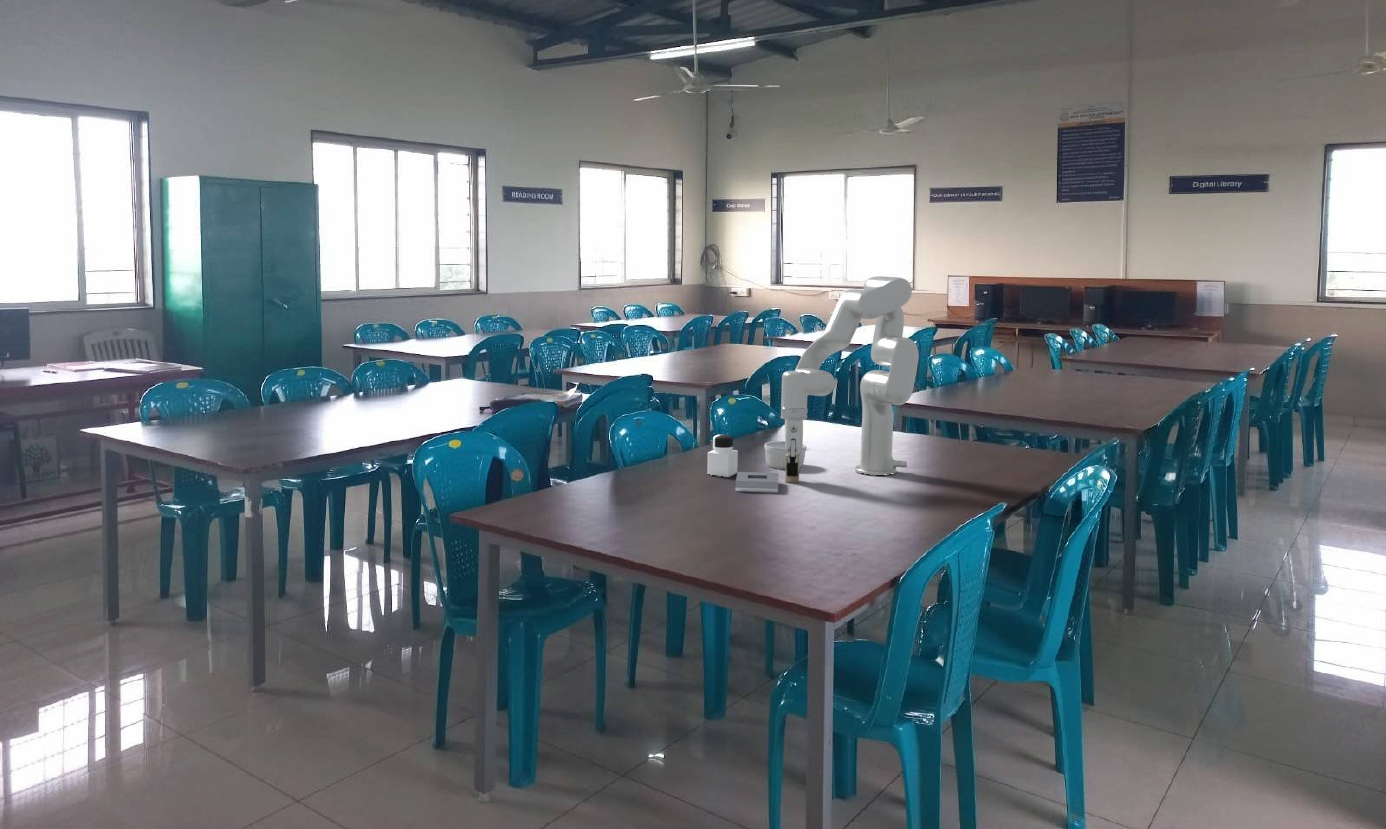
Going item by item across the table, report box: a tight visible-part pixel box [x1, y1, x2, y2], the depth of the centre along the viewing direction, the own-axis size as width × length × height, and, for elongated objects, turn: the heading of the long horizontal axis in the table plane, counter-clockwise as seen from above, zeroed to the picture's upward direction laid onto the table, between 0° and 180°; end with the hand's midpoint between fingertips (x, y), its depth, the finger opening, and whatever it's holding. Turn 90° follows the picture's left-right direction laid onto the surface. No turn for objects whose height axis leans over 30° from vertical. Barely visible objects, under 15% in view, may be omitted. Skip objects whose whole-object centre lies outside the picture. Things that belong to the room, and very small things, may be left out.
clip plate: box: [735, 471, 779, 493], centre depth 297 cm, size 12×12×3 cm
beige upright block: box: [784, 454, 800, 484], centre depth 304 cm, size 4×3×8 cm
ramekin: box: [764, 440, 807, 470], centre depth 326 cm, size 13×13×7 cm
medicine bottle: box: [706, 433, 739, 478], centre depth 313 cm, size 7×7×12 cm
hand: (792, 474), depth 305 cm, fingers closed on beige upright block, 3 cm apart
